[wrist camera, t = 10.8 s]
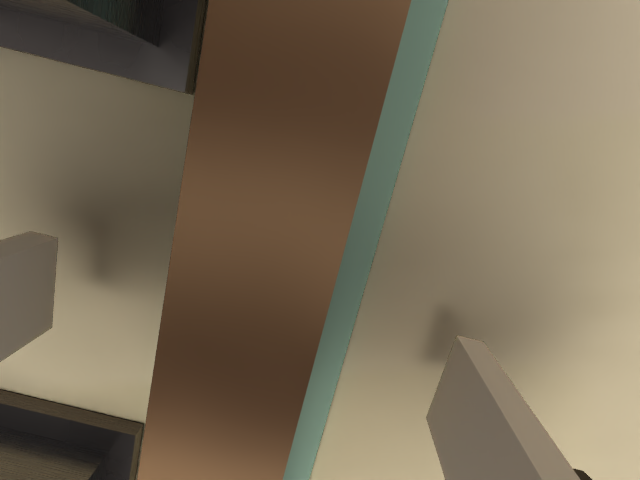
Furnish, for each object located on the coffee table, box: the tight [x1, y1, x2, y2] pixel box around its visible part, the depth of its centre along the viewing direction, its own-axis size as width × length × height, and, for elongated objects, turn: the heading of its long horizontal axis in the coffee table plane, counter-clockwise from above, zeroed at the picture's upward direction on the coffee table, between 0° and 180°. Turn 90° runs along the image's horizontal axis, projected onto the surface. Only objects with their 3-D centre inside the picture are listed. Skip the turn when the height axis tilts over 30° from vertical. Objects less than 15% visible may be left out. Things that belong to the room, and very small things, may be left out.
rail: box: [137, 0, 411, 480], centre depth 11 cm, size 26×4×4 cm, turn 166°
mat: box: [283, 0, 448, 480], centre depth 13 cm, size 30×6×1 cm, turn 166°
